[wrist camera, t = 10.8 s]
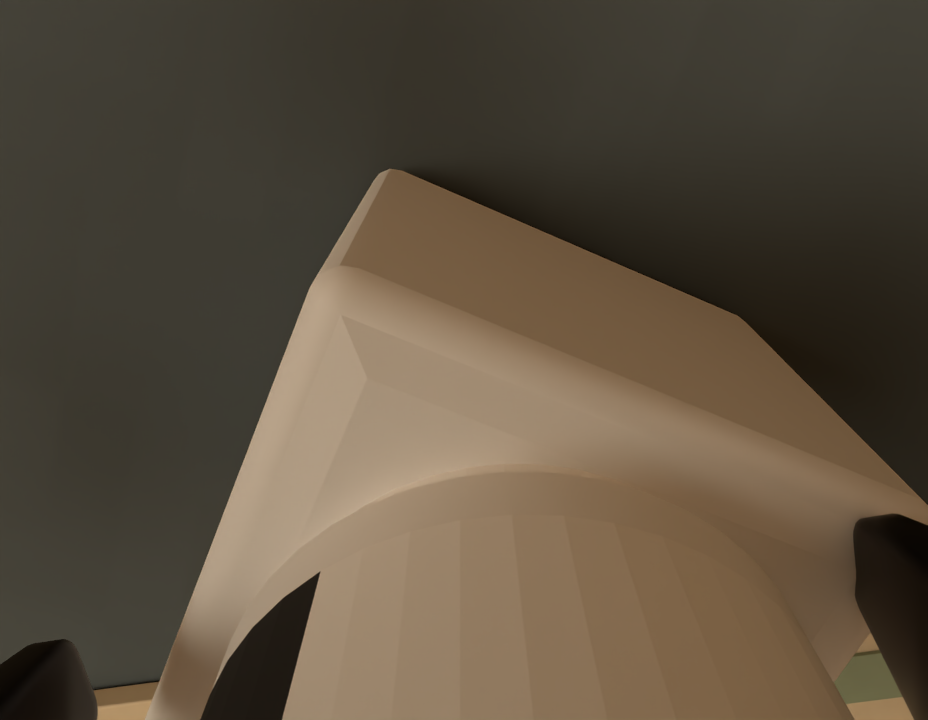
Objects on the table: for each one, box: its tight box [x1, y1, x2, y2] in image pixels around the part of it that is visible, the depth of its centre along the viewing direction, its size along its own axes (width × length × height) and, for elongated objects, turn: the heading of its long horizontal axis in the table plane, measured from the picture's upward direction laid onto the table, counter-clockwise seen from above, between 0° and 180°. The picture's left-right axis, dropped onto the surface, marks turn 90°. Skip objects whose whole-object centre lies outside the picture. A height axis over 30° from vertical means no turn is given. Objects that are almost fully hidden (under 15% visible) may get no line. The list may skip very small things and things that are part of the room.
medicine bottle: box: [145, 169, 928, 720], centre depth 11 cm, size 7×7×12 cm
